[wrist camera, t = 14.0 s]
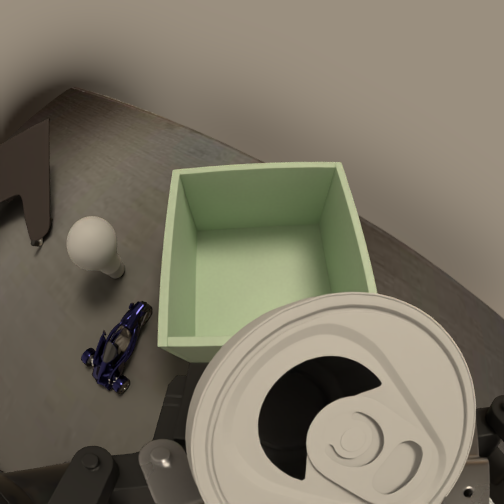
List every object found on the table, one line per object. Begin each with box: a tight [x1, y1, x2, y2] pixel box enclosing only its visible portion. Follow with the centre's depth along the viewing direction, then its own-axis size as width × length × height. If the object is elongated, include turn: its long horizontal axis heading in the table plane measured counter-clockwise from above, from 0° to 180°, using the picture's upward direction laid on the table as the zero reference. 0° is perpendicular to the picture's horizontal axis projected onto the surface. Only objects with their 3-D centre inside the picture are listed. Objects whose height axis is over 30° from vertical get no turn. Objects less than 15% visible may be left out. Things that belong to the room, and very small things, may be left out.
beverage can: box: [185, 292, 476, 504], centre depth 9 cm, size 6×6×12 cm
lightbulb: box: [67, 216, 125, 278], centre depth 31 cm, size 6×6×11 cm
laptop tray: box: [0, 119, 53, 246], centre depth 40 cm, size 23×23×9 cm
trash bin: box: [158, 162, 377, 363], centre depth 30 cm, size 18×18×12 cm
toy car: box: [81, 301, 152, 394], centre depth 30 cm, size 12×6×4 cm, turn 150°
